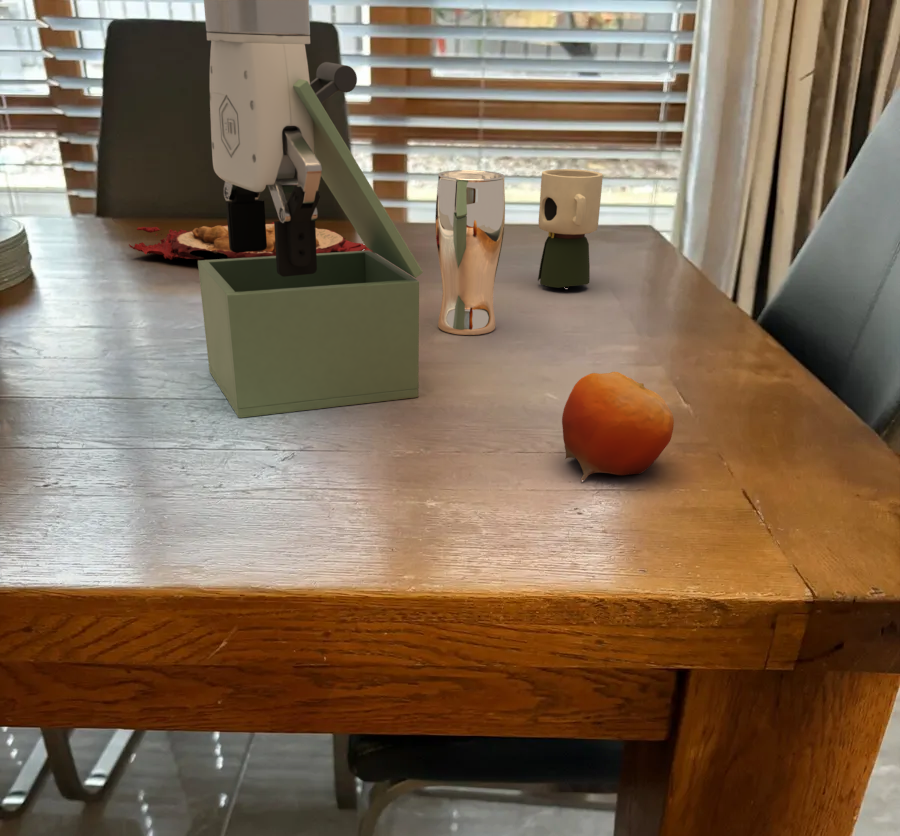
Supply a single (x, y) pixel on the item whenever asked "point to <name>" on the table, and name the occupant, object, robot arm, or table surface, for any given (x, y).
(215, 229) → the plate with food
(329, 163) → the chest door
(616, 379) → the fruit
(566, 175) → the character mug
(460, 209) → the beer glass
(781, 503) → the table surface
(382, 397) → the chest
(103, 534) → the table surface
